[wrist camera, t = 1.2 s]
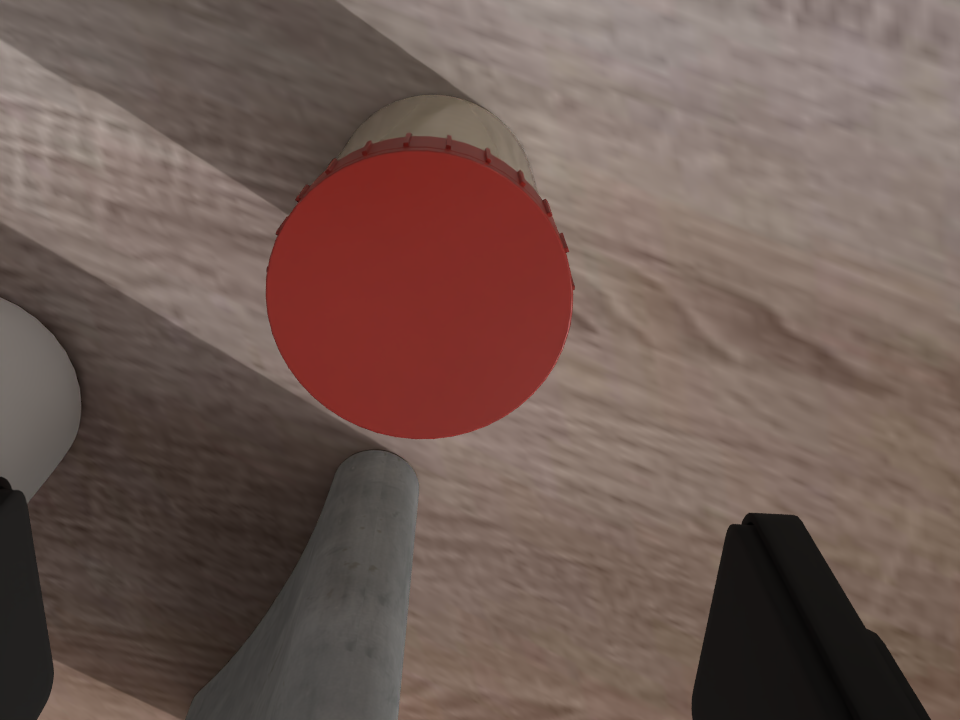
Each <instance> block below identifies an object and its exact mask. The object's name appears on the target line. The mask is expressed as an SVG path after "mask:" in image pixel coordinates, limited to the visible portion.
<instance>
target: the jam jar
mask: <svg viewBox="0 0 960 720" xmlns="http://www.w3.org/2000/svg"><path fill="white" fill-rule="evenodd" d="M406 133H411V134H412V136H432V137H440V138H447V135H451V136H452V140H456V141H459V142H463V143H467V144H470V145H472V146H475V147H477V148H479V149H482V150H484V151H485V149H486V148H488V149H490V152H491V154H492V155H494V156H495V157H497V158H499V159H500V160H502V161H504V162H505V163H506V164H508V165H509V166H510V167H512V168H513V169H514V170H515V171H517V172H518V171H519V170H521V171H522V172H523V174H524V178H525V180H526V181H527V182H528V183H529V184H530V185H531V186H532V187H533V188H534V189H535V191H536V192H537V193H538V191H537V188H536V184H535V181H534V178H533V175H532V171H531V168H530V165H529V162H528V160H527V157H526V155H525V152H524V151H523V149H522V147H521V145H520V143H519V142H518V140H517V139H516V137H515V136H514V135H513V133H512V132H511V131H510V130H509V129H508V128H507V127H506V125H505V124H504V123H503V122H502V121H501V120H499V119H498V118H497V117H495V116H494V115H493V114H492V113H490V112H489V111H487V110H485V109H484V108H482V107H480V106H479V105H476V104H474V103H472V102H469V101H467V100H464V99H460V98H456V97H452V96H445V95H420V96H413V97H409V98H405V99H402V100H399V101H396V102H394V103H392V104H389V105H387V106H385V107H384V108H382V109H380V110H379V111H377V112H375V113H374V114H373V115H372V116H370V117H369V118H368V119H367V120H366V121H364V123H363V124H362V125H361V126H360V127H359V128H358V129H357V130H356V131H355V133H354V134H353V136H352V137H351V138H350V140H349V141H348V143H347V144H346V146H345V147H344V149H343V150H342V152H341V153H340V155H339V156H338V158H337V160H340V159H342V158H343V157H345V156H347V155H348V154H350V153H352V152H353V151H356V150H358V149H360V148H363V147H365V145H366V143H367V141H370V140H372V143H377V142H380V141H384V140H387V139H392V138H400V137H405V136H406ZM538 195H539V194H538Z"/></svg>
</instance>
